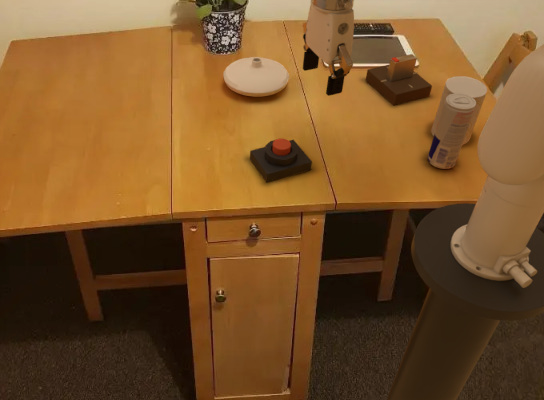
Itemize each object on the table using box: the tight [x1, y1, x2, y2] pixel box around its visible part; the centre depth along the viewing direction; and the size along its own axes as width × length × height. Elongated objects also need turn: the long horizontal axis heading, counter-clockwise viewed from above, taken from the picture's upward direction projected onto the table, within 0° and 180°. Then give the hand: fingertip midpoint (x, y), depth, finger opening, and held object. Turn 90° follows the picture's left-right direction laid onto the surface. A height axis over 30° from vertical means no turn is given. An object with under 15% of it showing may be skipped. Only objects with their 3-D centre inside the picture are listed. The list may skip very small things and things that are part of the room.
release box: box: [249, 138, 313, 183], centre depth 118 cm, size 10×8×4 cm
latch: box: [386, 53, 418, 82], centre depth 136 cm, size 6×2×5 cm, turn 112°
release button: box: [272, 138, 291, 156], centre depth 116 cm, size 4×4×2 cm
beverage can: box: [427, 93, 476, 170], centre depth 115 cm, size 6×6×15 cm
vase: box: [223, 56, 290, 97], centre depth 138 cm, size 16×16×7 cm
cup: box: [430, 75, 488, 146], centre depth 123 cm, size 8×8×12 cm
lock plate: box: [365, 64, 433, 106], centre depth 139 cm, size 12×10×3 cm
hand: (321, 80), depth 114 cm, fingers open, 9 cm apart
